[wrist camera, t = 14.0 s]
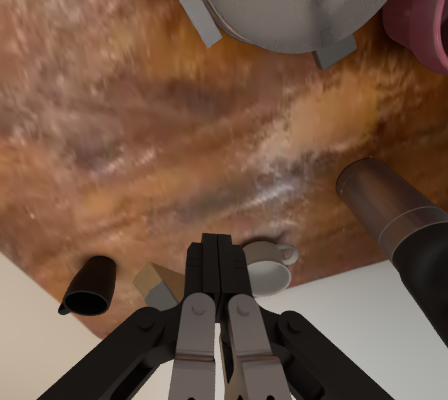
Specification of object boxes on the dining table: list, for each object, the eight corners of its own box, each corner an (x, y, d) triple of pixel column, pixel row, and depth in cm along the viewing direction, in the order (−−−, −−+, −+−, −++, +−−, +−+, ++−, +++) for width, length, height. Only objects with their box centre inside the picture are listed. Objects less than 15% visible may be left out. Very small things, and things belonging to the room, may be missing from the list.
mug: (60, 267, 55) (37, 308, 47) (102, 245, 52) (85, 285, 44) (89, 286, 59) (72, 326, 52) (130, 267, 57) (118, 307, 49)
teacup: (249, 273, 61) (255, 304, 54) (223, 248, 55) (226, 279, 49) (302, 247, 57) (315, 276, 50) (280, 217, 51) (291, 246, 45)
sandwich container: (148, 260, 56) (134, 327, 44) (206, 283, 62) (207, 347, 50) (131, 281, 59) (113, 348, 47) (186, 301, 66) (183, 365, 53)
